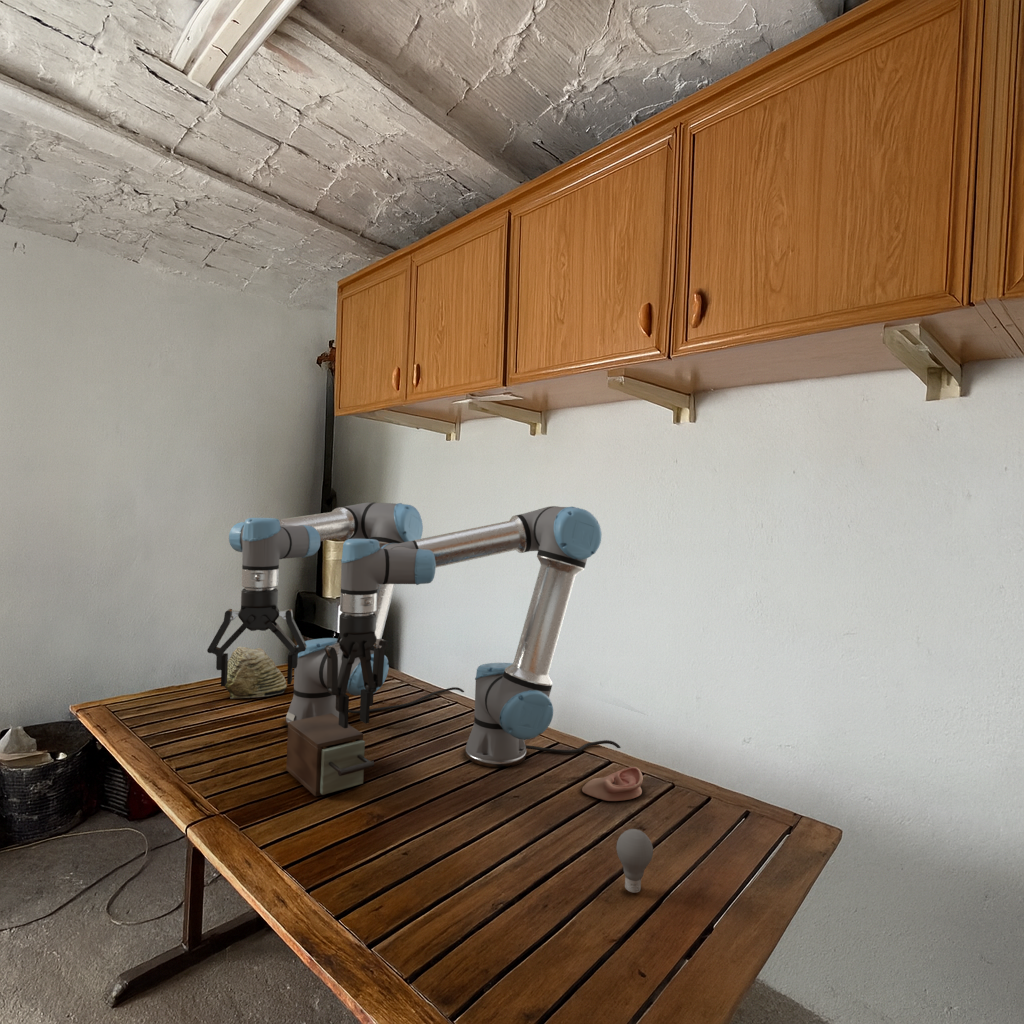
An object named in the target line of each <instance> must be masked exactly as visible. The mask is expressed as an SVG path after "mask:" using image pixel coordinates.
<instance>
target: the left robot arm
mask: <svg viewBox="0 0 1024 1024" xmlns="http://www.w3.org/2000/svg"><path fill="white" fill-rule="evenodd" d="M423 529H424V526H423V519H422V517H421V513H420V512H419V510H418V509H417V508H416V507H415V506H414V505H411V504H407V503H406V504H405V503H402V502H397V503H393V502H392V503H391V502H375V501H373V502H371V501H369V502H362V503H356V504H350V505H346V506H340V507H336V508H334V509H332V511H329V512H323V513H315V514H308V515H300V516H293V517H286V518H279V519H278V518H275V517H248V518H245V520H244V521H240V522H237V523H235V524H234V525H233V526H232V527H231V529H230V531H229V534H228V543H229V546H230V547H231V548H232V549H233V550H234V551H235V552H238V553H242V555H241V557H242V559H241V560H242V563H241V565H242V566H241V587H242V590H240V591H241V592H240V595H241V596H240V608H239V610H235V609H232V608H228V609H226V611H225V612H224V616H223V620H222V623H221V625H220V626H219V629H218V630H217V632H216V634H215V635H214V636H213V638H212V641H211V642H210V644H209V646H208V648H207V649H206V651H207V653H208V654H213V655H215V656H216V657H215V659H216V660H215V661H216V662H215V663H216V665H215V668H216V671H220V687H224V686H225V685H226V683H227V670H228V660H229V652H227V653H226V651H227V650H228V648H229V647H231V645H233V643H234V642H235V641H236V640H237V639H238V638H239V637H240V636H241V635H242V634H243V633H244V632H245V631H246V629H247V630H249V631H250V632H255V631H261V632H262V631H263V632H266V631H268V630H269V631H271V632H272V633H273V634H274V635H275V636H276V638H278V640H279V641H280V642H281V643H282V644H283V645H284V646H285V647H286V648H287V650H288V651H289V652H288V654H287V675H286V676H287V677H286V679H287V680H286V685H291V684H292V682H293V695H292V696H293V697H292V699H291V702H290V704H289V708H288V711H287V713H286V715H285V726H286V728H288V722H291V721H296V720H301V719H306V718H311V717H316V716H321V715H326V714H331V713H332V714H333V715H335V716H336V717H338V718H339V712H338V711H337V710H336V695H332V694H331V693H329V692H328V691H327V655H326V652H325V646H327V645H329V646H331V645H333V644H335V643H337V639H338V638H335V637H322V638H313V639H308V640H305V639H304V637H303V635H302V633H301V631H300V630H299V627H298V625H297V623H296V621H295V619H294V613H293V609H292V608H287V609H285V610H279V607H278V605H279V604H278V603H279V589H278V588H277V587H278V586H279V573H280V560H285V559H296V558H297V559H298V558H302V559H305V558H307V557H312V556H314V555H315V554H317V553H318V551H319V549H320V547H321V542H324V541H329V540H330V541H331V540H334V539H336V540H338V541H346V540H348V539H375V540H378V541H379V546H380V548H381V547H383V546H384V545H386V544H389V543H403V542H408V541H414V540H417V539H422V537H423V531H424V530H423ZM395 587H396V584H378V588H377V610H376V611H375V612H374V613H375V614H376V630H375V635H376V637H377V639H382V637H383V635H384V631H385V626H386V621H387V618H388V615H389V610H390V606H391V602H392V598H393V595H394V591H395ZM236 617H238V618H239V620H240V621H241V622H242V624H241V625H240V626H239V627H238V628H237V629H236V630H235V631H234V633H232V635H231V636H230V637H229V638H228V639H227V640H226V641H225V642H224V643H223V644H222V646H220V647H218V645H219V643H220V642H221V640H222V639H223V637H224V635H225V633H226V631H227V629H228V628H229V626H230V624H231V623H232V621H234V620H235V619H236ZM279 617H281V618H282V620H284V621H286V624H287V626H288V629H289V630H290V633H291V634H292V636H293V638H294V641H295V642H296V644H297V645H296V644H295V643H294V642H293V640H291V638H290V637H289V636H288V635H287V633H285V631H284V630H283V629H282V628H281V627H280V625H279V623H277V620H278V619H279ZM374 649H375V647H374V646H373V647H372V649H371V650H370V653H371V666H372V673H373V659H374ZM342 654H343V652H342V651H341V649H340V648H339V654H337V656H338V676H339V672H340V667H341V663H342V660H341V658H342ZM389 668H390V666H389V659H388V657H387V656H386V655H385V654H384V669H383V684H382V686H383V685H384V683H385V681H386V679H387V677H388V673H389ZM382 686H381V687H382ZM381 687H377V690H376V692H377V691H379V690H380V689H381ZM362 689H365V687H364V681H363V675H362V669H361V663H360V659H359V657H358V658H355V661H354V663H353V664H352V668H351V673H350V677H349V681H348V686H347V690H346V694H349V695H351V696H356V697H357V696H360V697H361V690H362ZM449 691H459V692H461V693H465V690H464V689H462V688H460V687H457V686H456V687H455V686H453V687H448V688H445V689H440V690H436V691H433V692H431V693H429V694H426V695H424V696H421V697H419V698H416V699H415V700H412V701H409V702H406V703H402V704H397V705H390V706H383V707H382V706H381V707H377V708H376V707H375V708H370V711H369V713H372V712H373V713H374V712H379V711H386V710H393V709H400V708H403V707H408V706H411V705H414V704H417V703H418V702H422V701H423V700H425V699H428V698H430V697H432V696H434V695H438V694H442V693H446V692H449ZM376 692H374V693H373V695H374V694H376ZM348 714H360V709H359V710H353V709H349V711H348Z"/></svg>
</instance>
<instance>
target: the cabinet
mask: <svg viewBox="0 0 1024 1024" xmlns="http://www.w3.org/2000/svg"><path fill="white" fill-rule="evenodd" d="M352 740H356V741H360V740H363V741H364V733H362V732H361V731H360V730H359V729H357V728H355V727H353V726H352V725H350V724H349V723H348V728H343V727H341V726H340V725H339V718H338V717H336V716H335V715H333V714H332V713H331V714H326V715H321V716H316V717H311V718H306V719H301V720H296V721H291V722H288V727H287V740H286V741H287V743H286V768H285V770H286V771H287V773H289V774H290V775H291V776H292V777H293V778H294V779H295V780H296V781H298V783H300V785H302V786H303V787H304V788H305V789H307V790H308V791H309V792H310V793H311V795H313V796H314V797H320V796H323V795H322V794H321V793H320V776H321V751H322V747H326V746H331V745H335V744H339V743H343V742H348V741H352Z"/></svg>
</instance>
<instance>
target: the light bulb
mask: <svg viewBox="0 0 1024 1024" xmlns="http://www.w3.org/2000/svg"><path fill="white" fill-rule="evenodd" d="M615 849H616V854H617V857H618V859H619V861H620V863H621V865H622V867H623V873H624V874H623V875H624V876H625V878H624V888H625V890H627V891H628V892H630V893H634V894H635V893H639V892H640V891H641V889H642V887H641V886H642V879H643V877H644V875H645V871H646V868H647V867H648V866H649V864H650V863H651V861H652V859H653V855H654V847H653V843H652V841H651V838H649V836H648V835H647V834H646V833H645V832H643V831H642V830H641V829H636V828H629V829H627V830H625V831H623V832H622V833H621V834H620V835H619V837H618V839H617V841H616V847H615Z"/></svg>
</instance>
